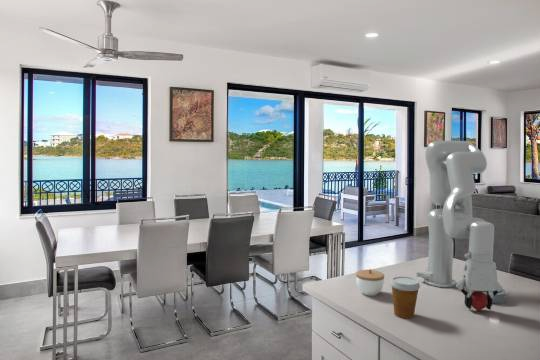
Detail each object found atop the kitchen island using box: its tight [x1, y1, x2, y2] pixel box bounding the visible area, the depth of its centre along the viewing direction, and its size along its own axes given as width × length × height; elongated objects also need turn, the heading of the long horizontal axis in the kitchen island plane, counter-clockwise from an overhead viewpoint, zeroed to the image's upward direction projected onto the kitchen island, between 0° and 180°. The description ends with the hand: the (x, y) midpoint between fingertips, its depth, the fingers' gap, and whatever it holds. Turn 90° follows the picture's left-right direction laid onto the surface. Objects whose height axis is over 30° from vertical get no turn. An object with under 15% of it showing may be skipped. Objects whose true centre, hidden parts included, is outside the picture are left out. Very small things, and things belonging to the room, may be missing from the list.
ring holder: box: [473, 289, 507, 305], centre depth 151 cm, size 12×12×4 cm
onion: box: [470, 291, 488, 311], centre depth 138 cm, size 6×6×8 cm
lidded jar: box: [355, 268, 385, 297], centre depth 155 cm, size 11×11×9 cm
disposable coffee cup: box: [389, 275, 421, 319], centre depth 134 cm, size 10×10×12 cm
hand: (477, 307), depth 139 cm, fingers closed on onion, 5 cm apart
